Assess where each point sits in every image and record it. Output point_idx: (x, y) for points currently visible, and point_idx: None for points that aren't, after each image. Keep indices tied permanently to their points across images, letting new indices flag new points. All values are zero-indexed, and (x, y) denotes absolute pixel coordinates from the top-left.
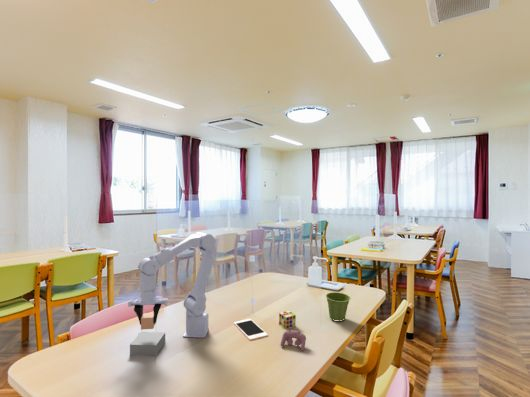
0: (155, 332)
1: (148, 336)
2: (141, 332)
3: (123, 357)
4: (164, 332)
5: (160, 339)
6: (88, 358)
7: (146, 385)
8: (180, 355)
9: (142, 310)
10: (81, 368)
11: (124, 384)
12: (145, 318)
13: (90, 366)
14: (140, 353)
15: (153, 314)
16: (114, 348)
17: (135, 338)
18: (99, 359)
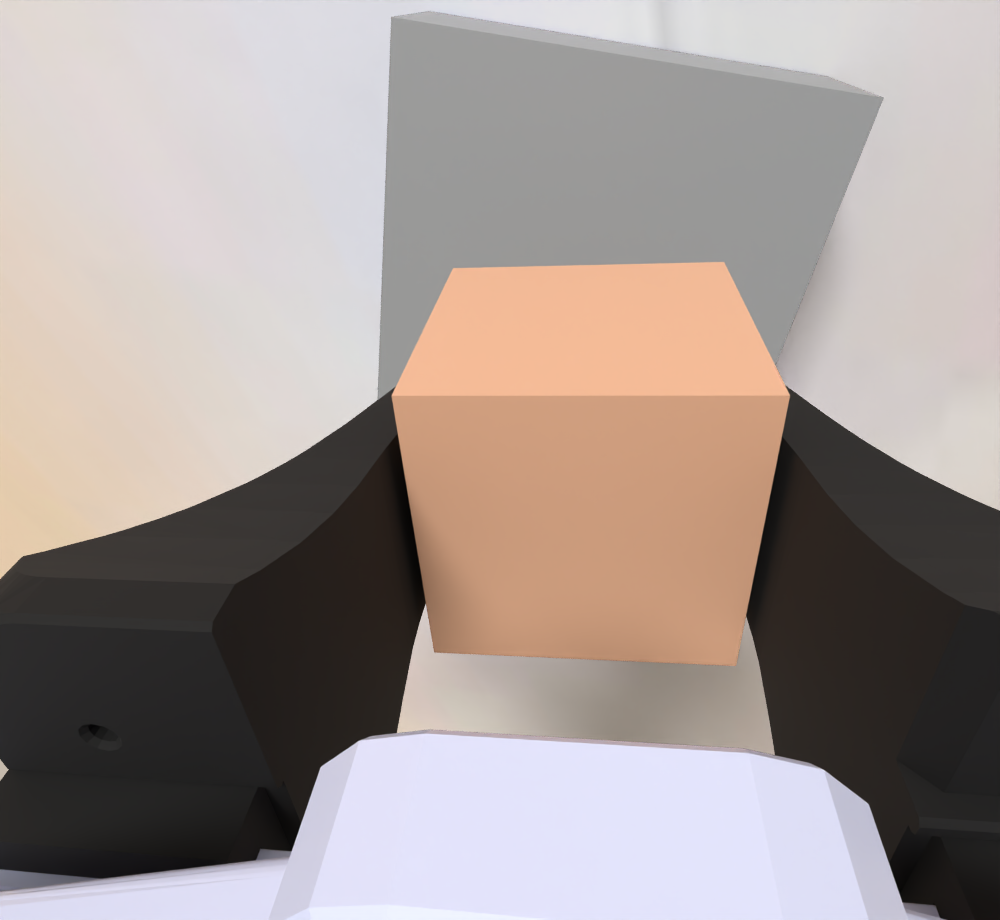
0: (681, 80)
1: (575, 232)
2: (403, 49)
3: (358, 403)
4: (865, 99)
5: (783, 339)
6: (16, 376)
7: (670, 732)
8: (991, 446)
9: (354, 554)
10: (85, 511)
11: (517, 704)
12: (544, 646)
13: (138, 497)
14: None
15: (732, 512)
16: (146, 199)
17: (383, 276)
18: (137, 407)
